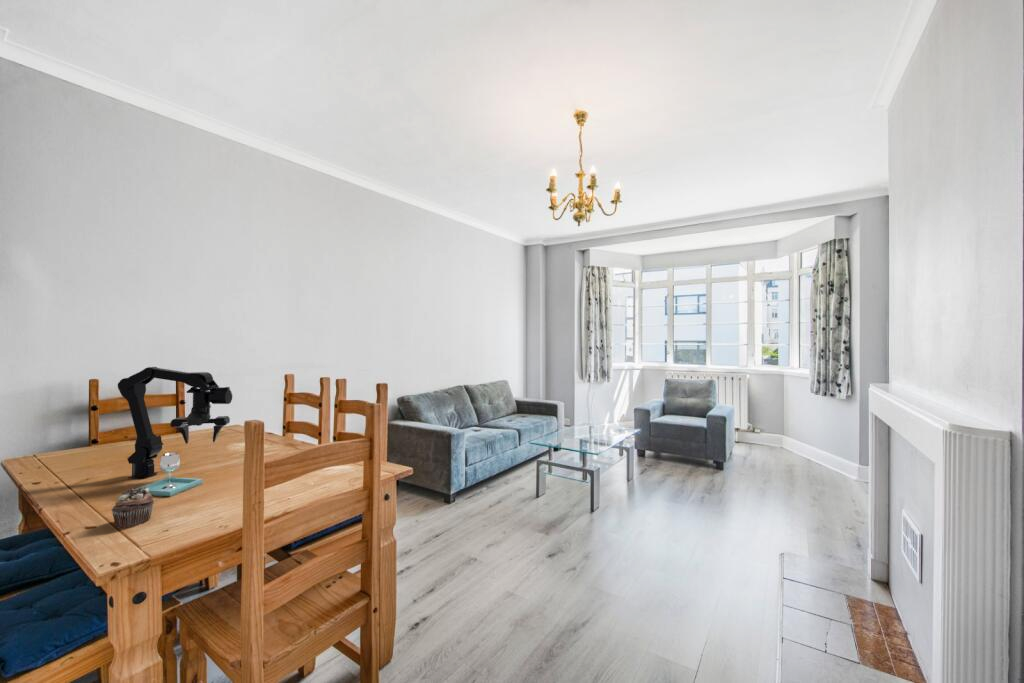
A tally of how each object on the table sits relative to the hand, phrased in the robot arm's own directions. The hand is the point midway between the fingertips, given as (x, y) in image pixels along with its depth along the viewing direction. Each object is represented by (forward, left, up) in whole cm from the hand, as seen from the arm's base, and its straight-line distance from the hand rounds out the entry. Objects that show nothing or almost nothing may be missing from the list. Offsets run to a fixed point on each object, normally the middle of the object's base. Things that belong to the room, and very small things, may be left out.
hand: (200, 442), depth 175 cm
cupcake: (+16, -43, -13) cm, 48 cm away
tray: (+2, -16, -13) cm, 21 cm away
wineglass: (+2, -16, -13) cm, 20 cm away
